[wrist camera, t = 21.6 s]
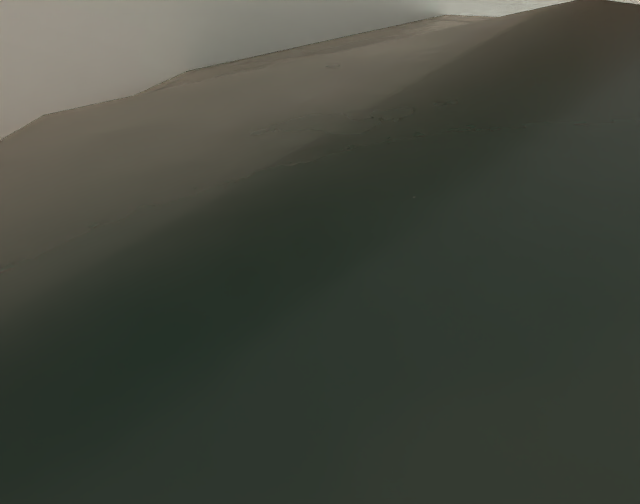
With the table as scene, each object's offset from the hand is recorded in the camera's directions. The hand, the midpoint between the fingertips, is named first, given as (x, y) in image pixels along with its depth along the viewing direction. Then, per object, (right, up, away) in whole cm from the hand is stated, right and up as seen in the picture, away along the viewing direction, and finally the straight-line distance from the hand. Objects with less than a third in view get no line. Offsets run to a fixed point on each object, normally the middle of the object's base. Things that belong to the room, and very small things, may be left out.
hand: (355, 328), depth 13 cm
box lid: (-1, +2, -9) cm, 9 cm away
